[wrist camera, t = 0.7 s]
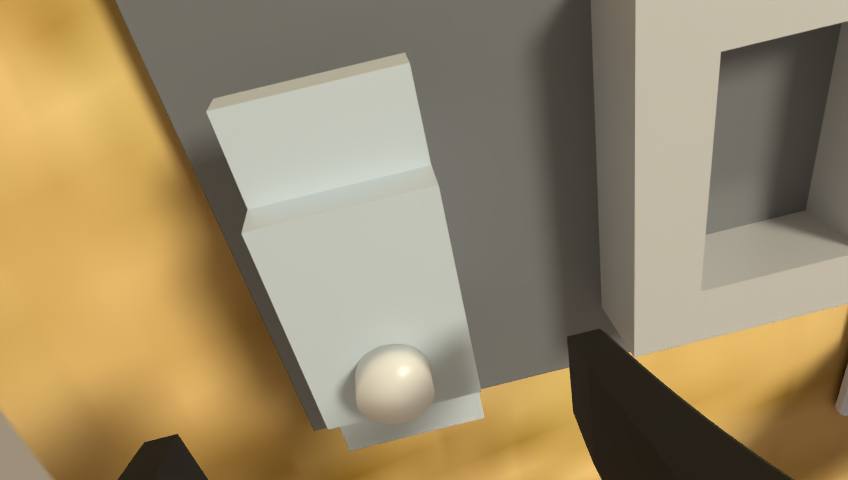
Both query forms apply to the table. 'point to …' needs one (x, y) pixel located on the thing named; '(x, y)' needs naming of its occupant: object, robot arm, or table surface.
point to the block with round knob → (354, 247)
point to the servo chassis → (567, 154)
